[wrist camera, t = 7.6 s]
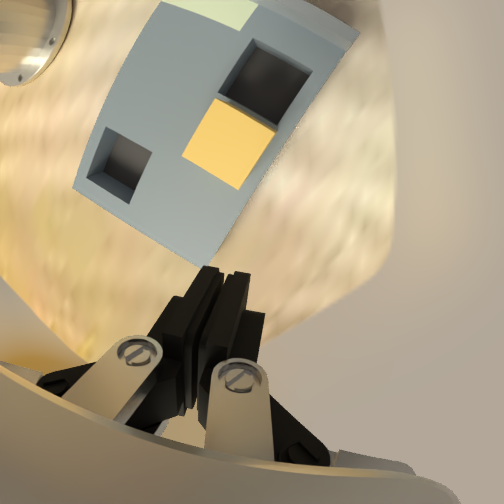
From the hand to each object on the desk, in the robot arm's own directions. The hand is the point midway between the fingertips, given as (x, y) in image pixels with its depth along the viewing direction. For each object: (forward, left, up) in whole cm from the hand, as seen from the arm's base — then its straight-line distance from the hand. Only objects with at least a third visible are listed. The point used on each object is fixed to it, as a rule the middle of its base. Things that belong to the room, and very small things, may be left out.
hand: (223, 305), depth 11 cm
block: (-4, +4, -13) cm, 14 cm away
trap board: (-8, +3, -16) cm, 18 cm away
